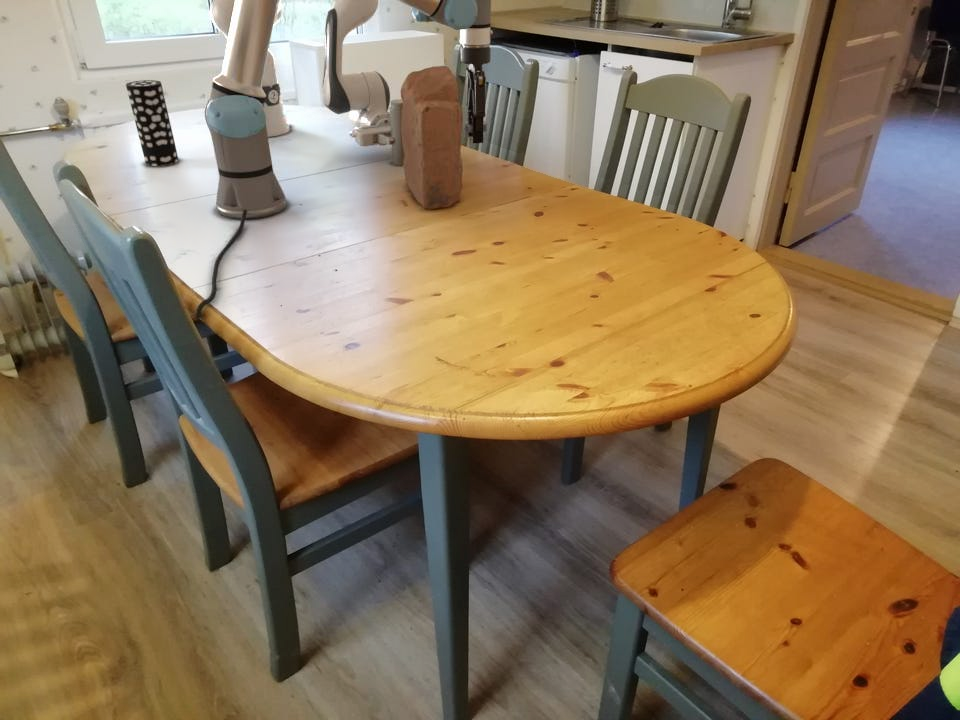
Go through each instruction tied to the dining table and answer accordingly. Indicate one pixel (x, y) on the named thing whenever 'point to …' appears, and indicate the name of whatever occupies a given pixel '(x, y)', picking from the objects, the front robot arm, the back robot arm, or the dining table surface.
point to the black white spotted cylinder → (152, 122)
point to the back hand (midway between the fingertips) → (402, 139)
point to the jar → (397, 131)
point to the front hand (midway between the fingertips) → (475, 139)
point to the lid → (470, 126)
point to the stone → (432, 136)
